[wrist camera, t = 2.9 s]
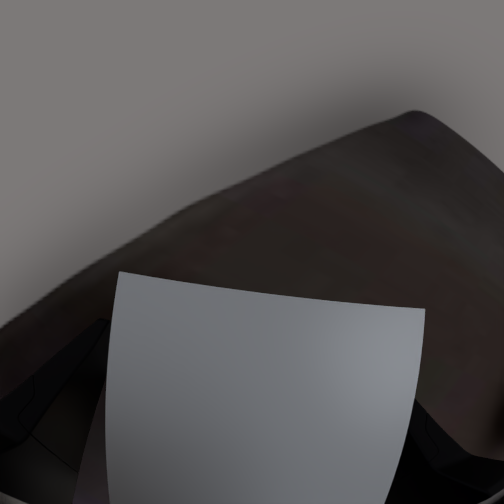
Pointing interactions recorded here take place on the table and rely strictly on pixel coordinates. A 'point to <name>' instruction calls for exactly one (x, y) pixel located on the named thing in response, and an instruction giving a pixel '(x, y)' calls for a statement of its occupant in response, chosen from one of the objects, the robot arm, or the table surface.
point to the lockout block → (255, 396)
